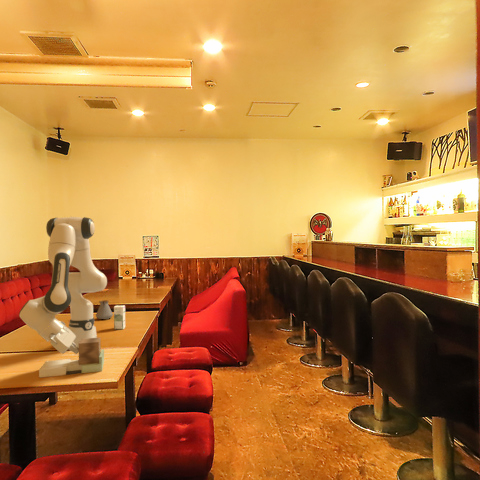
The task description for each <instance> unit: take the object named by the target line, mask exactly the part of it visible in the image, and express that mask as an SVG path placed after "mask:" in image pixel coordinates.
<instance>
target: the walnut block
mask: <svg viewBox="0 0 480 480" xmlns="http://www.w3.org/2000/svg"><path fill="white" fill-rule="evenodd" d="M101 346H102V345H101V337H97V338H87V339H81V340H80V342H79V352H78V360H79V365H84V364H94V363H99V356H100V353H101V350H102V349H101Z"/></svg>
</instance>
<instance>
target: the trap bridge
mask: <svg viewBox="0 0 480 480" xmlns="http://www.w3.org/2000/svg"><path fill="white" fill-rule="evenodd" d="M104 365H105V349H101V353H100V356H99V363H94V364H84V365H79V359H71V358H66V359H55V360H46V361H45V362H44V363H43V364H42V366H41V367H40V368H39V370H38V378H48V377H58V376H68V375H76V374H77V373H79V374H87V373H98V372H102V371H103V369H104Z"/></svg>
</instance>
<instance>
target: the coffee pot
mask: <svg viewBox="0 0 480 480" xmlns="http://www.w3.org/2000/svg"><path fill="white" fill-rule="evenodd" d="M109 302H110V300H106V299H105V300H99V301H98V303H99V307H98V309H97V312H96V314H95V317H96V319H98V320H99V319H107V320H110V319H111V318H112V317H113V316H114V313H113V311H112V310H111V308H110V306H109ZM109 318H110V319H109Z"/></svg>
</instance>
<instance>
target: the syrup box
mask: <svg viewBox="0 0 480 480" xmlns="http://www.w3.org/2000/svg"><path fill="white" fill-rule="evenodd" d="M113 325H114V326H113V330H124V329H125V328H126V304H125V305H118V304H117V305H114V306H113Z"/></svg>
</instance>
